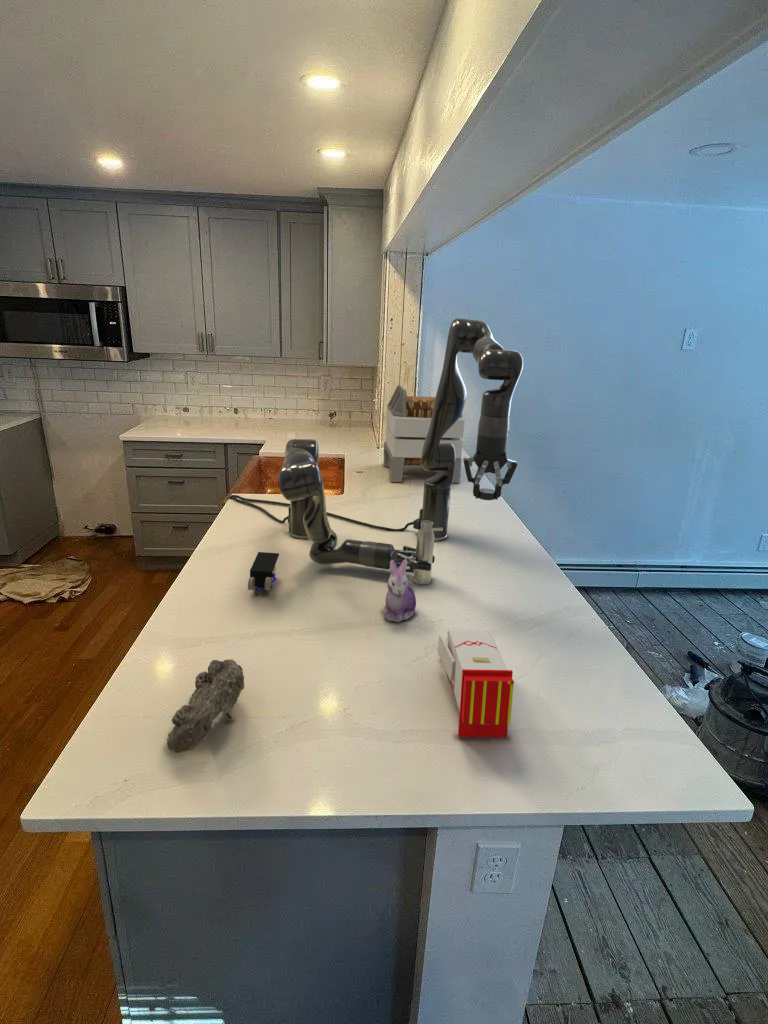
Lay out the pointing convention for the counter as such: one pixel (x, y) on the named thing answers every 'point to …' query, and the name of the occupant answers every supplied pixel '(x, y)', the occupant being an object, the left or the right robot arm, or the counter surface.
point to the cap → (486, 494)
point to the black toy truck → (263, 572)
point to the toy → (478, 682)
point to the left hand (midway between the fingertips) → (432, 563)
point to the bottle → (424, 551)
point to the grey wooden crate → (414, 433)
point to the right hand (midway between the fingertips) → (486, 497)
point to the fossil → (206, 705)
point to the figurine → (399, 594)
